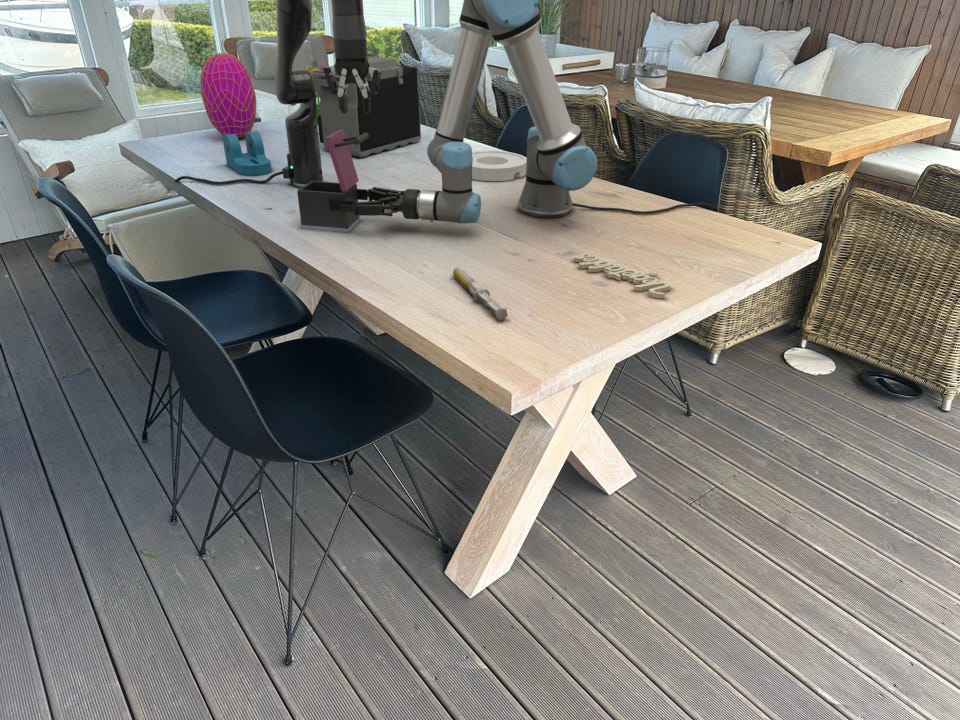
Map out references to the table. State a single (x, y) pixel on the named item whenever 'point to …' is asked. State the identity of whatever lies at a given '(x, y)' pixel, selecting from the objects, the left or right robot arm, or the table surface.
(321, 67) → the potted flower
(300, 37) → the left robot arm
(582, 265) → the decorative sign
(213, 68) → the decorative egg
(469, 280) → the yellow and grey rod
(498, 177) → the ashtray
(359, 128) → the tool box
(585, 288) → the table surface
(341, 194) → the chest
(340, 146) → the lid
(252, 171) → the camera mount
